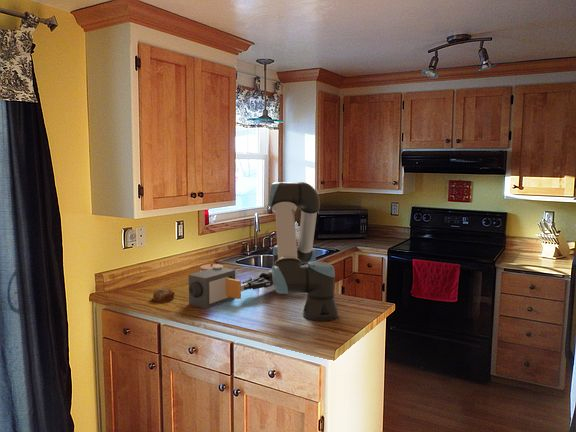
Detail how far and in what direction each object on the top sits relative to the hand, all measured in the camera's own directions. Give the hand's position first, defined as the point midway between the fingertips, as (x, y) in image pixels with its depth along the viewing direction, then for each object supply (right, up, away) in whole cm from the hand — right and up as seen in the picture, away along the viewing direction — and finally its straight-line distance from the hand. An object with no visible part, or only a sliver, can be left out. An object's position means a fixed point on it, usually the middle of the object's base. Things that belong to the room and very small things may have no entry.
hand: (238, 289), depth 228 cm
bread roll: (-36, -6, +8) cm, 38 cm away
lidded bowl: (-18, -2, +38) cm, 42 cm away
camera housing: (-13, -6, +5) cm, 15 cm away
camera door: (-6, -5, -3) cm, 8 cm away
